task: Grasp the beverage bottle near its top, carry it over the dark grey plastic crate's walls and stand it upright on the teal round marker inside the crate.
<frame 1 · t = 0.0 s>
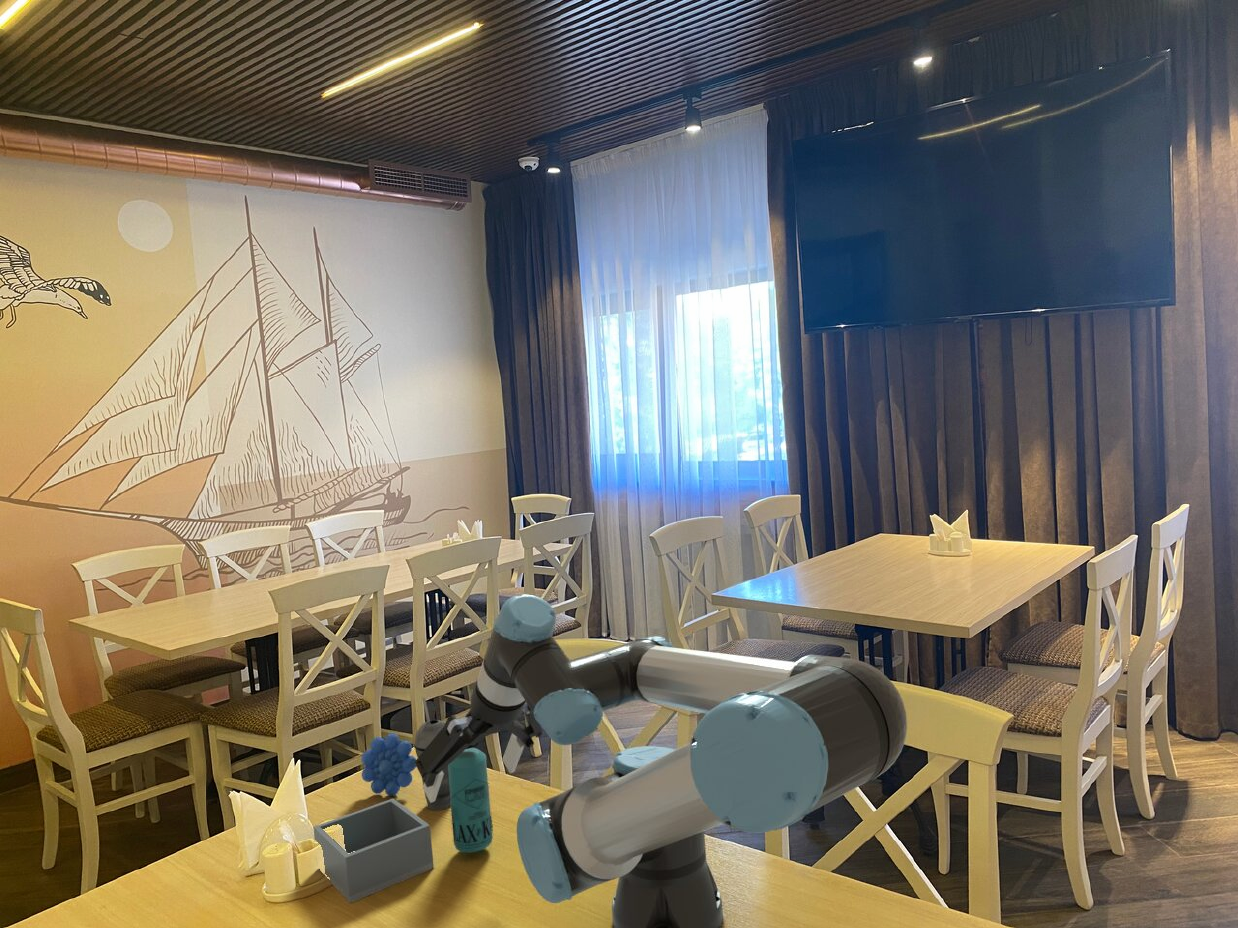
hand: (469, 779, 138), 15 cm above the table, tool tilted 35°, fingers open, 13 cm apart
crate: (375, 868, 144), on the table
beverage bottle: (474, 852, 147), on the table
beverage cup: (440, 805, 165), on the table
grapes: (394, 794, 171), on the table
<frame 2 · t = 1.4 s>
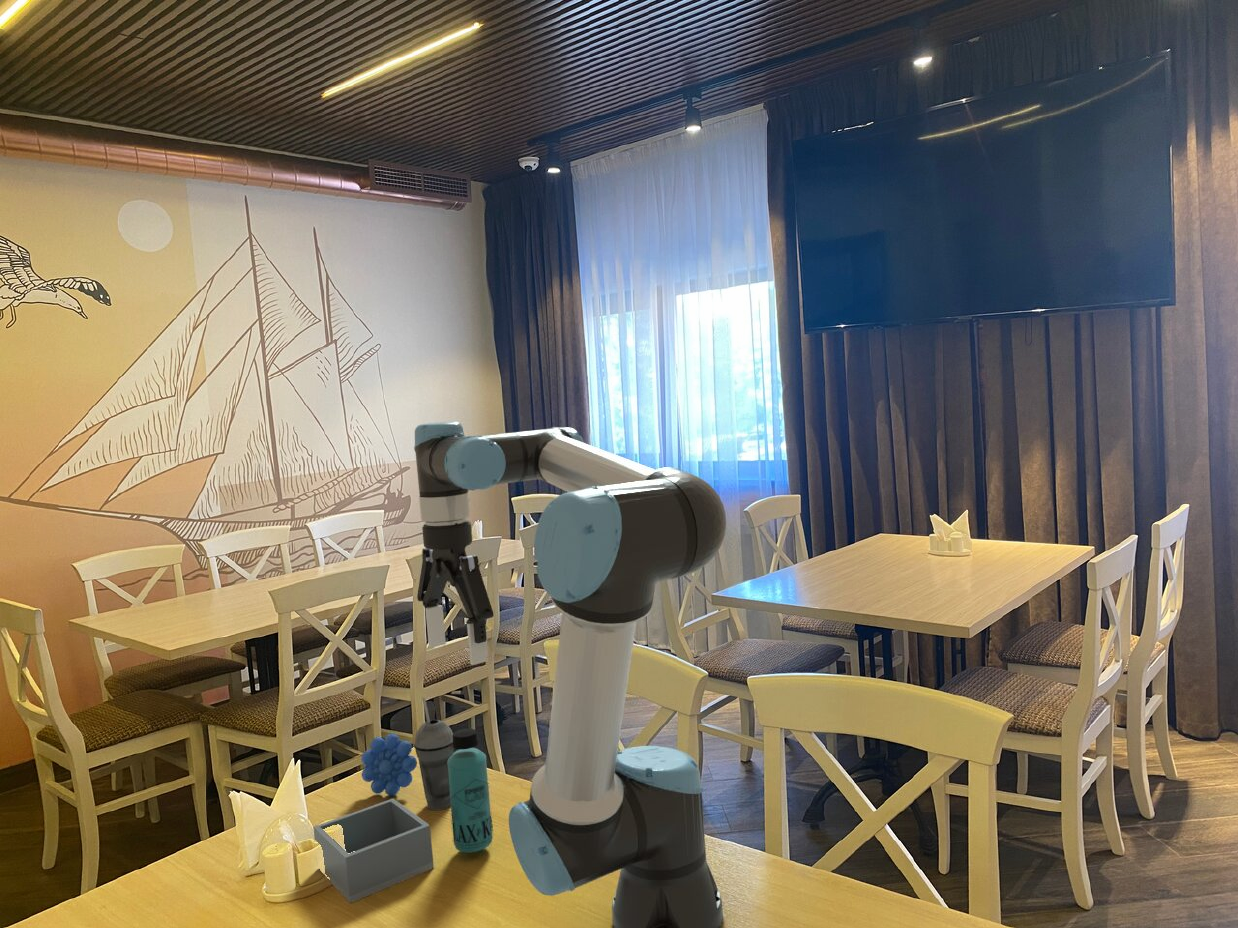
hand: (457, 653, 143), 33 cm above the table, tool pointing down, fingers open, 13 cm apart
nothing on the table moved.
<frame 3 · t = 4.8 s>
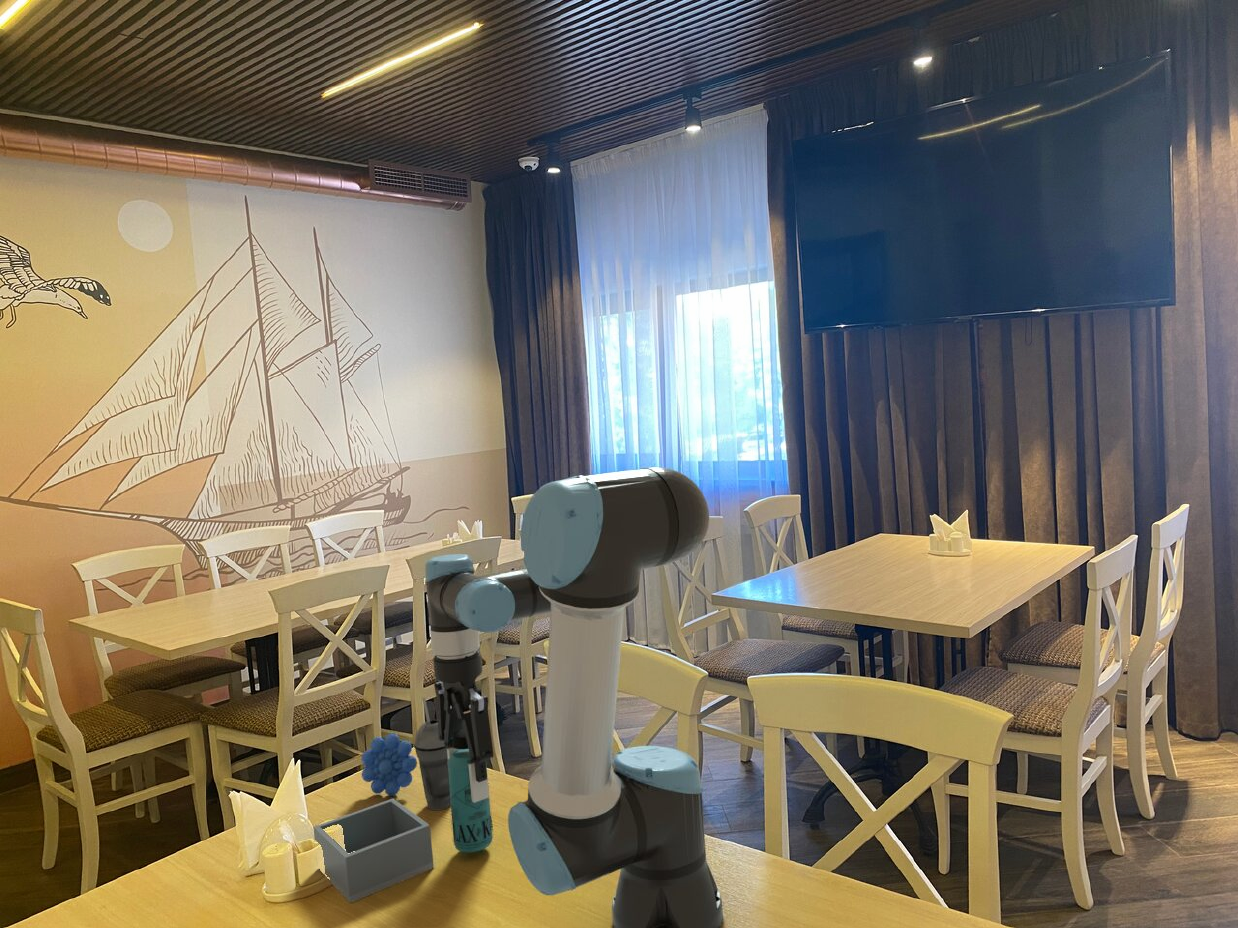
hand: (469, 791, 146), 10 cm above the table, tool pointing down, fingers closed on beverage bottle, 6 cm apart
beverage bottle: (474, 852, 147), on the table, touching gripper
everything else where it was.
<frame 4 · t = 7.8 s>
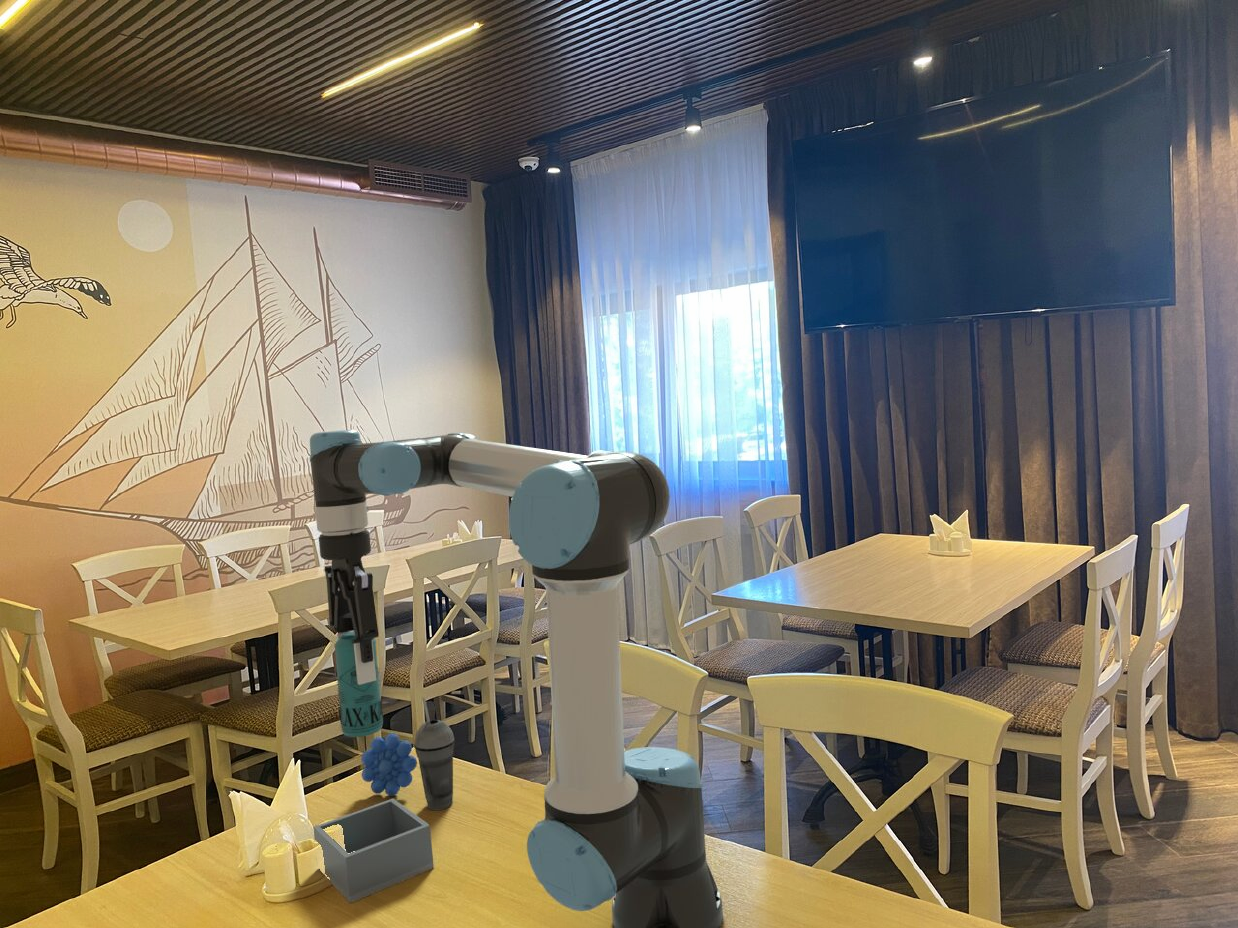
hand: (358, 676, 141), 31 cm above the table, tool pointing down, fingers closed on beverage bottle, 6 cm apart
beverage bottle: (364, 739, 142), point 21 cm above the table, touching gripper
everything else where it was.
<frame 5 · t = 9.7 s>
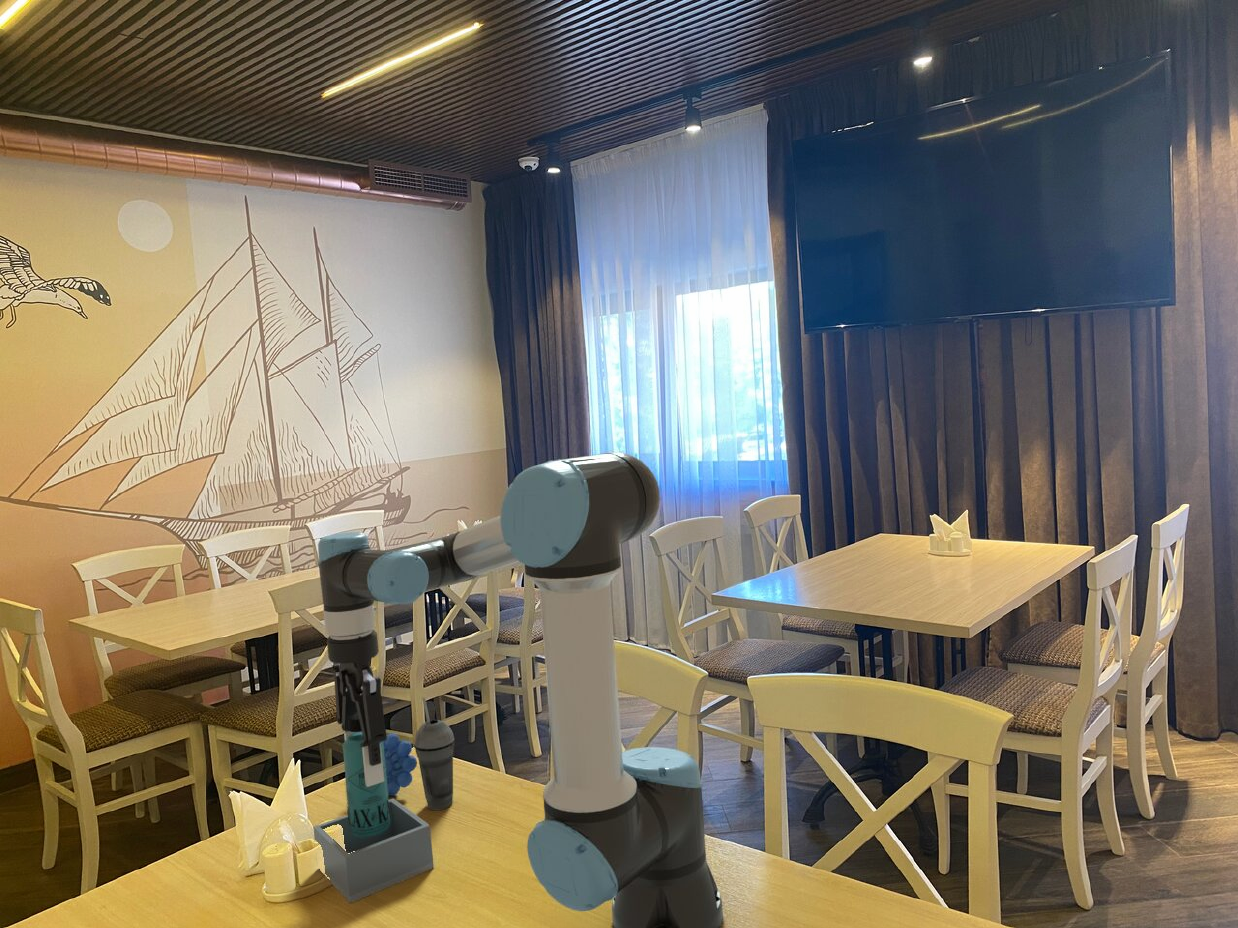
hand: (365, 776, 142), 15 cm above the table, tool pointing down, fingers closed on beverage bottle, 6 cm apart
beverage bottle: (372, 838, 143), point 5 cm above the table, touching gripper
everything else where it was.
when the fingers open (12 cm above the table, at t = 11.0 s): beverage bottle stays where it is, resting on crate.
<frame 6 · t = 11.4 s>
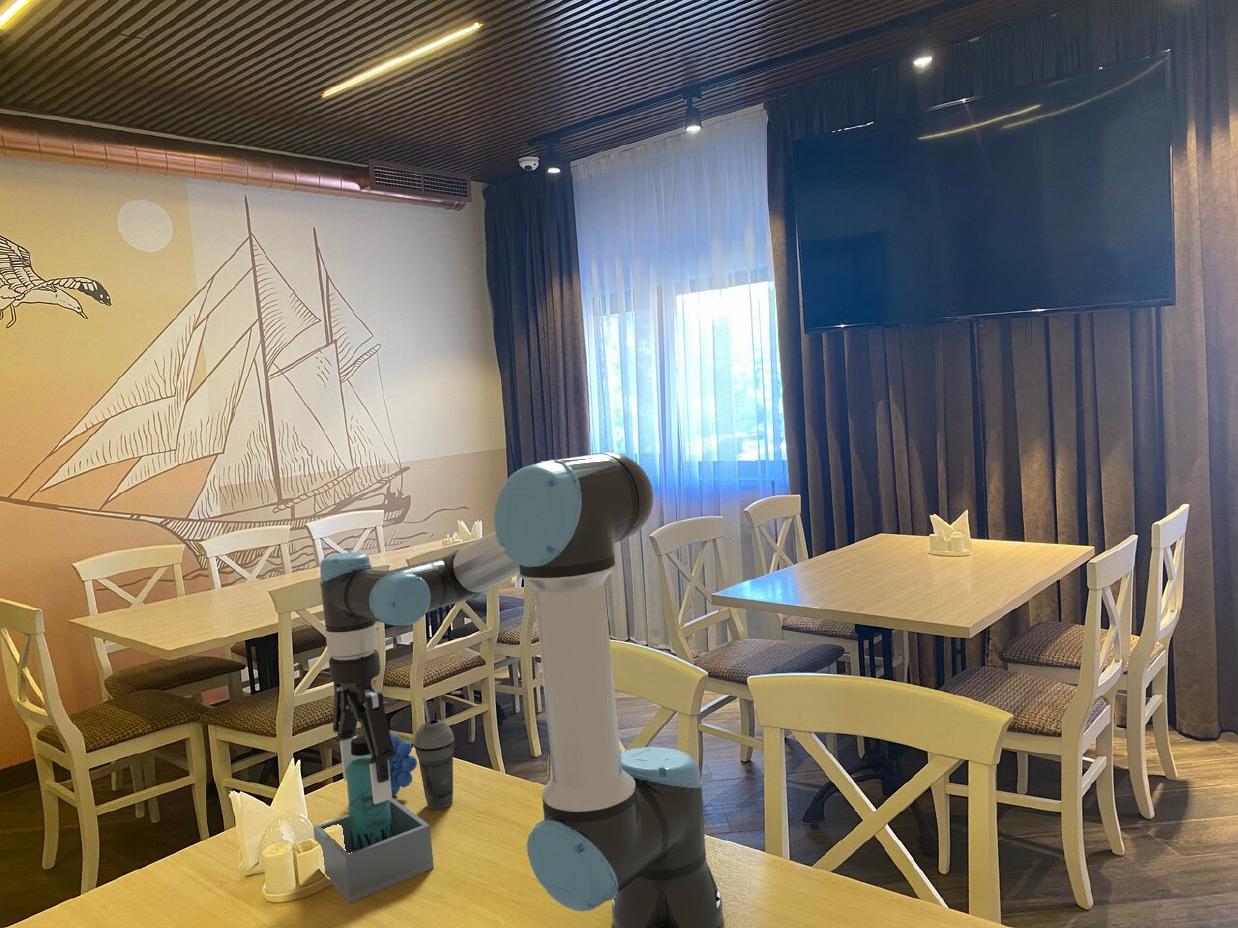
hand: (367, 788, 142), 13 cm above the table, tool pointing down, fingers open, 11 cm apart
beverage bottle: (375, 861, 143), point 1 cm above the table, touching crate
everything else where it was.
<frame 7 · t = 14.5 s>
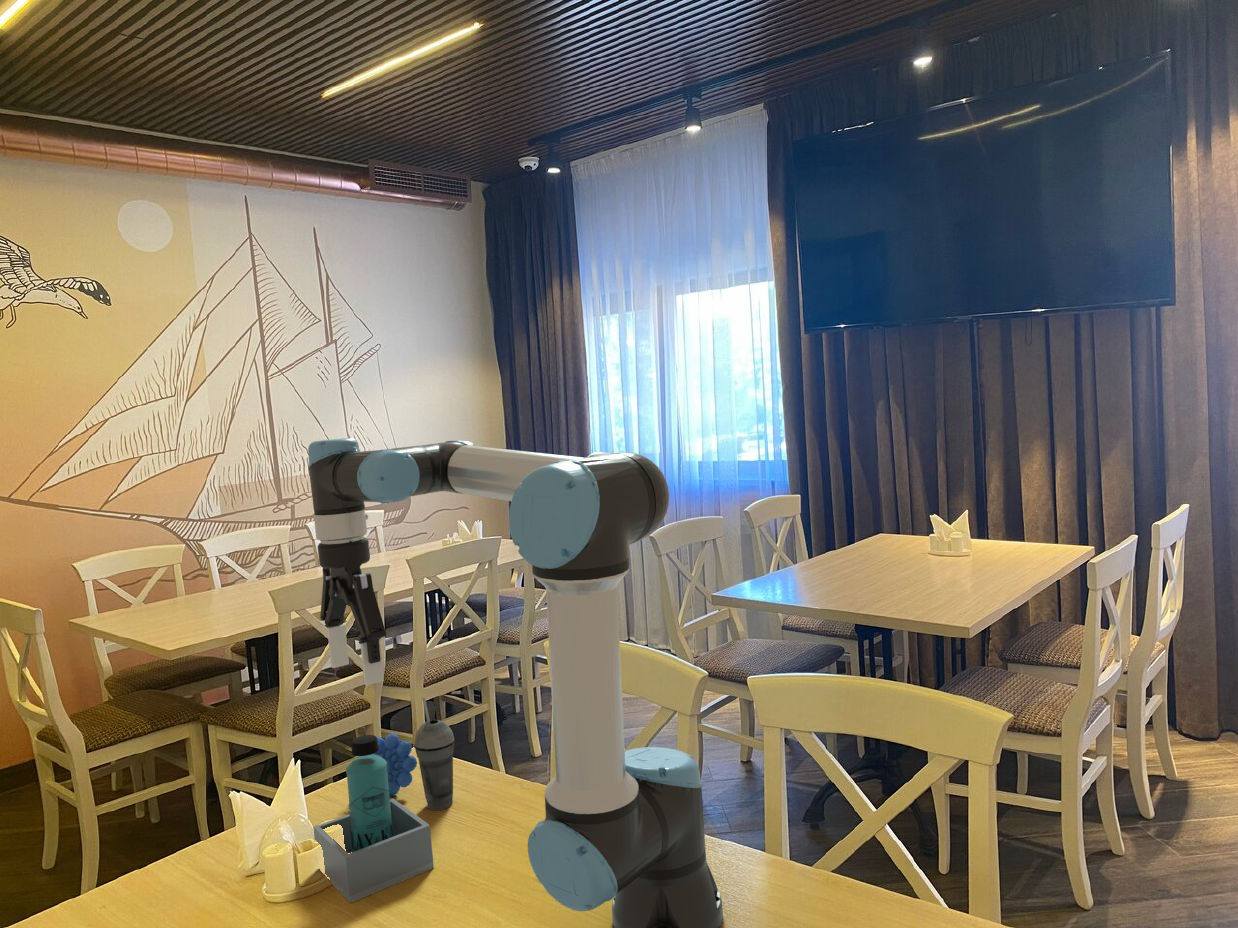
hand: (356, 674, 141), 32 cm above the table, tool pointing down, fingers open, 13 cm apart
nothing on the table moved.
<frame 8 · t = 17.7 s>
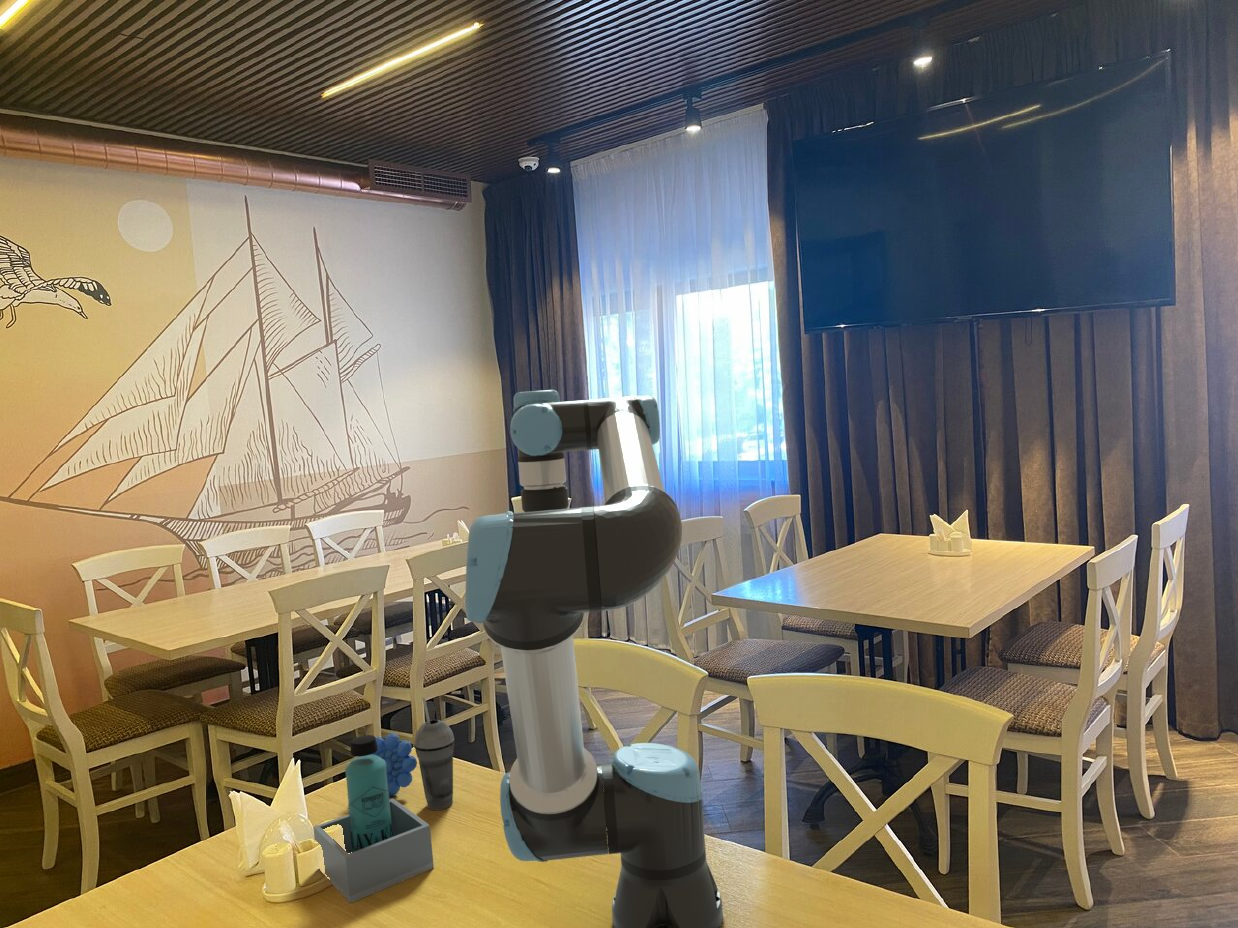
hand: (554, 615, 148), 37 cm above the table, tool pointing down, fingers open, 13 cm apart
nothing on the table moved.
at the end: beverage bottle inside the target area on the crate (0.1 cm from its centre), point 1.1 cm above the crate's base; beverage bottle tilted 0°; the gripper is holding nothing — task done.
